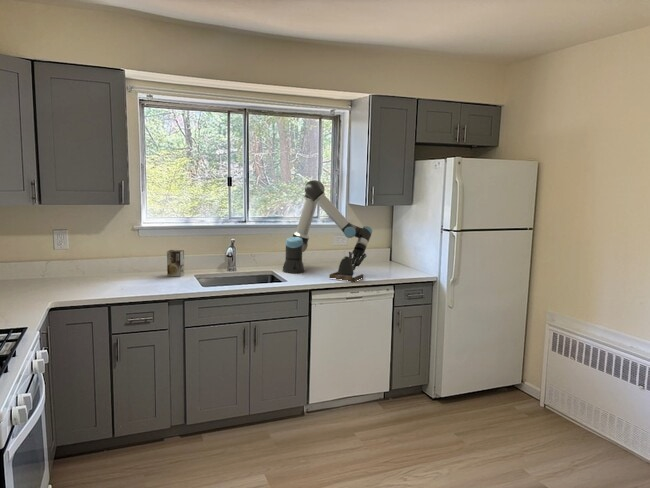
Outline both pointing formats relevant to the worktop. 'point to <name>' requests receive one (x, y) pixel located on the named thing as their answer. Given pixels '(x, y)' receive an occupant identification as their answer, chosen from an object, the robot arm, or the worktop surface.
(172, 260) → the coffee box
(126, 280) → the worktop surface
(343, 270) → the dark grey tapered dome
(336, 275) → the walnut bay
